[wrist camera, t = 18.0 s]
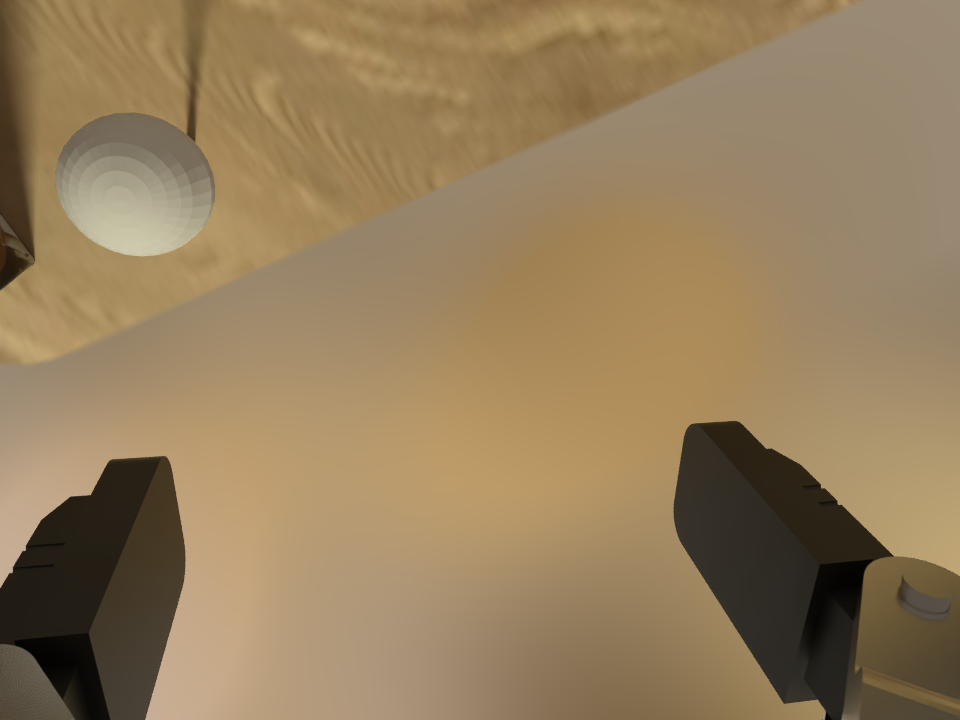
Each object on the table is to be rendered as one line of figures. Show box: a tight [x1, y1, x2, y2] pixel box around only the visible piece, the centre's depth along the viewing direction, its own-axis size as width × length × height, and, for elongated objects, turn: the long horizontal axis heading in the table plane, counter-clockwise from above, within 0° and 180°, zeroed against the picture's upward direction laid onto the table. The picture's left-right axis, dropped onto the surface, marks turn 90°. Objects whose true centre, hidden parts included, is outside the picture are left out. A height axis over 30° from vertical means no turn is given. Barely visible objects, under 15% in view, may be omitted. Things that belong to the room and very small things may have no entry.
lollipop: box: [56, 113, 215, 256], centre depth 36 cm, size 6×6×15 cm
